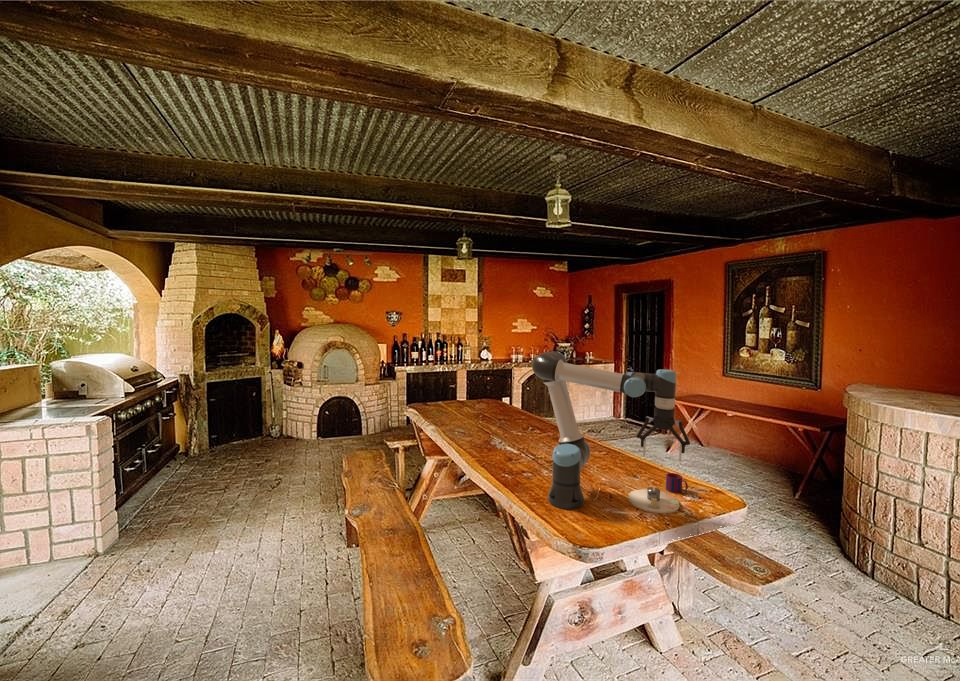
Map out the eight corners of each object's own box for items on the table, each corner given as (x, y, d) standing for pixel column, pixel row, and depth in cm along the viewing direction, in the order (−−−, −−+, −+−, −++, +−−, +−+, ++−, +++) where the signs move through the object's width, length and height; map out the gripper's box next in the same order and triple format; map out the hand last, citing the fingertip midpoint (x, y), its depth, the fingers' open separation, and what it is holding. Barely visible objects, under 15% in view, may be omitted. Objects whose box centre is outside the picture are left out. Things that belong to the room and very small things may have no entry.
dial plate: (627, 508, 174) (627, 504, 174) (629, 489, 192) (629, 486, 192) (680, 517, 166) (681, 513, 166) (677, 496, 185) (677, 493, 185)
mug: (673, 486, 196) (674, 472, 196) (691, 494, 187) (691, 480, 187) (662, 488, 194) (662, 474, 193) (679, 497, 185) (680, 482, 184)
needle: (647, 495, 182) (647, 485, 182) (659, 497, 181) (659, 487, 180) (647, 507, 171) (647, 497, 171) (660, 509, 169) (660, 499, 169)
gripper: (631, 405, 174) (629, 455, 176) (699, 413, 164) (695, 465, 165) (633, 402, 181) (630, 450, 182) (698, 409, 170) (695, 459, 172)
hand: (661, 457), depth 174 cm, fingers open, 13 cm apart
